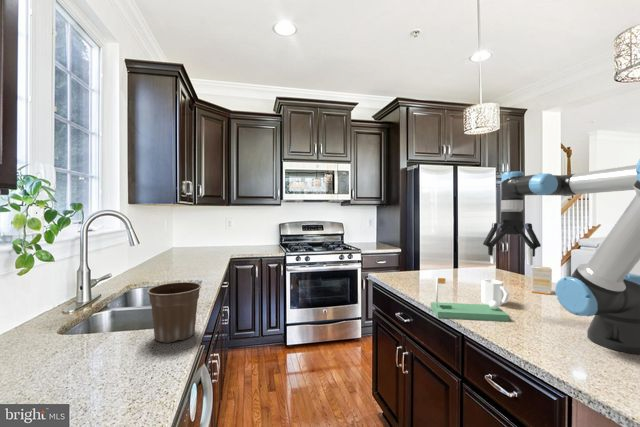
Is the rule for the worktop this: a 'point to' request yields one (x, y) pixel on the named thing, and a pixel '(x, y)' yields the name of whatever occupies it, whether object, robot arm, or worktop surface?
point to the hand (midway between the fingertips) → (511, 264)
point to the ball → (493, 305)
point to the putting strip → (466, 309)
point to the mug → (493, 292)
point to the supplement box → (541, 279)
